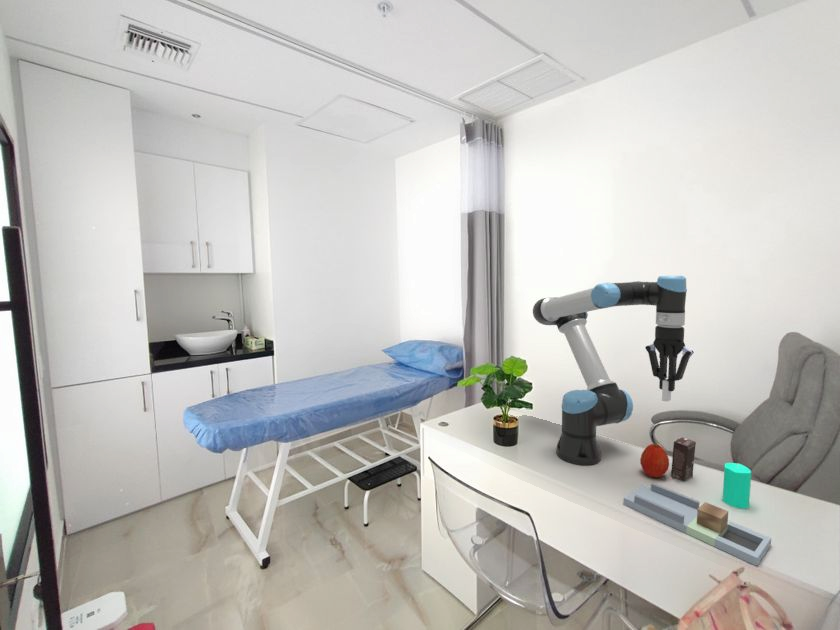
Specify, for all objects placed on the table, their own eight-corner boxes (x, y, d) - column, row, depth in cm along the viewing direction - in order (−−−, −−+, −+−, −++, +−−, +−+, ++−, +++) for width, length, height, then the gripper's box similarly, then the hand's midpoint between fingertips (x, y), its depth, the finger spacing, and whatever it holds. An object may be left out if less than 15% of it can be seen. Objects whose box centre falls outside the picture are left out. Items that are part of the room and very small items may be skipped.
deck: (623, 504, 112) (623, 491, 111) (641, 491, 118) (642, 478, 118) (756, 566, 88) (758, 549, 87) (770, 545, 94) (772, 530, 93)
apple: (672, 483, 122) (674, 450, 121) (643, 479, 125) (644, 447, 123) (664, 470, 130) (666, 439, 129) (637, 467, 132) (638, 437, 131)
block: (696, 523, 100) (697, 509, 99) (704, 516, 102) (705, 502, 102) (720, 533, 95) (721, 518, 95) (727, 525, 98) (728, 511, 98)
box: (686, 482, 122) (687, 446, 121) (670, 476, 126) (672, 441, 125) (694, 476, 126) (696, 441, 124) (679, 470, 129) (680, 436, 128)
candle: (724, 494, 116) (727, 455, 114) (750, 502, 111) (753, 462, 110) (720, 502, 112) (722, 462, 110) (746, 511, 107) (749, 470, 106)
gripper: (641, 325, 122) (638, 397, 125) (688, 329, 111) (684, 408, 114) (652, 322, 126) (649, 393, 129) (699, 326, 116) (695, 403, 118)
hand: (666, 400), depth 121 cm, fingers closed
